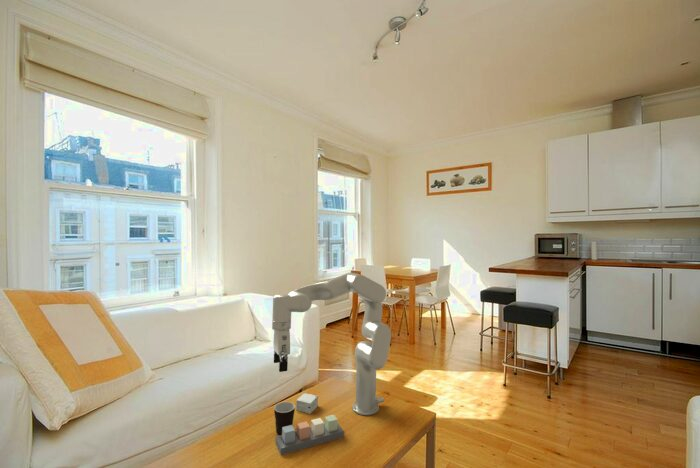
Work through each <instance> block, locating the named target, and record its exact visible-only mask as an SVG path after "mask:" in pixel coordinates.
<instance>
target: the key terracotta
mask: <svg viewBox="0 0 700 468" xmlns="http://www.w3.org/2000/svg"><path fill="white" fill-rule="evenodd" d="M310 428H311V425H309V423H308V421H307V420H306V421H303V422H299V423H298V422H297V424H296V431H297V436H298V438H299V440H303V439H307V438H310Z"/></svg>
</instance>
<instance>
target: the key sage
mask: <svg viewBox="0 0 700 468" xmlns="http://www.w3.org/2000/svg"><path fill="white" fill-rule="evenodd" d="M338 421H339V419H338V418H337V417H336V415H335V414H331V415H327V416H324V424H325V429H326V430H327V432H328V433H329V432H332V431H336V430H337V425H338V424H339V423H338Z"/></svg>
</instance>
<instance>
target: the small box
mask: <svg viewBox="0 0 700 468" xmlns="http://www.w3.org/2000/svg"><path fill="white" fill-rule="evenodd" d="M295 404H296V405H295V409H296V411H298V412H302V413H306V414H310V415H311V414H312V413H313V412H314V411H315V409H316V408H317V407H318V406H319V396H318V395H314V394H312V393H305V392H304V393H302V394H301V395H300V396H299V397H298V398H297V399H296V403H295Z"/></svg>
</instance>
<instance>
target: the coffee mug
mask: <svg viewBox="0 0 700 468" xmlns="http://www.w3.org/2000/svg"><path fill="white" fill-rule="evenodd" d="M295 409H296V405H295V403H293V402H291V401H281V402H278V403H276V404H275V405H274V408H273V411H274V412H273V413H274V419H275V420H274V422H275V432H276V435H277V436H280V435H282V427H285V426H289V425H294V416H295Z"/></svg>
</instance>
